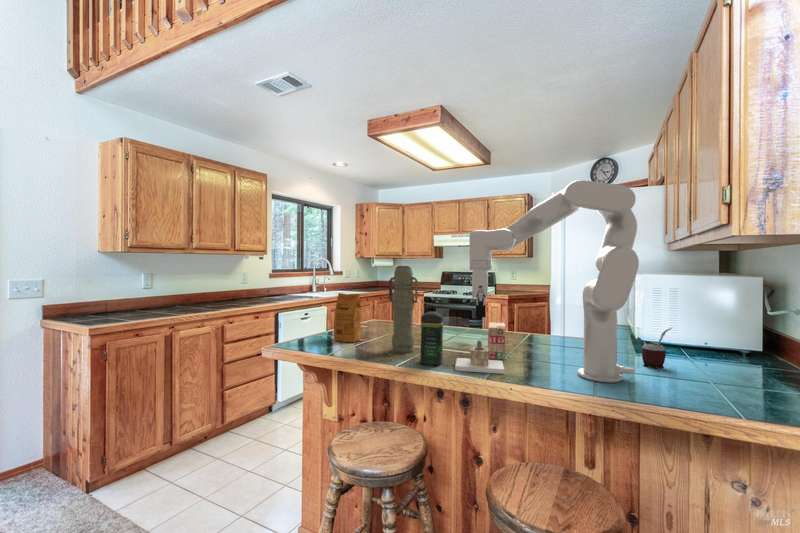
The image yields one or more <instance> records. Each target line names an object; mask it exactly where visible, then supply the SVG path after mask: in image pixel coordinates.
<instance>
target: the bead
mask: <svg viewBox="0 0 800 533" xmlns="http://www.w3.org/2000/svg"><path fill="white" fill-rule="evenodd" d="M469 356H470V358H469V359H470V365H477V366H488V360H489V359H488V347H487V346H486V347H485V346H482V350H477V346H470V355H469Z"/></svg>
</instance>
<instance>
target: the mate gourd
mask: <svg viewBox="0 0 800 533" xmlns="http://www.w3.org/2000/svg"><path fill="white" fill-rule="evenodd" d="M672 329H673V327H670V328H668V329H665V330H664V331H663V332H662V333H661V334H660V335H661V336H660V338H659V340H658V342H657V343H654V342H653V343H651V342H646V343H644V344H643V346H642V349H641V357H642V358H641V359H642V362H643V364H642V366H643V367H646V368H648V367H649V368H653V369H654V370H658V368H660V369H664V368H665V366H664V364H665V360H666V356H667V353H666V348H665V347H664V346H663V344H661V342H662V340H663V338H664V337H665V335H666V333H667V332H669V331H670V330H672Z"/></svg>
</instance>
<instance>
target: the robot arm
mask: <svg viewBox="0 0 800 533" xmlns="http://www.w3.org/2000/svg"><path fill="white" fill-rule="evenodd" d="M636 198H637V197H636V194H635V192H634V191H633V189H631V188H630V187H628V186H626V185H622V184H617V183H608V182H602V181H601V182H600V181H592V180H584V179H579V180H574V181H571V182H570V183H569V184H568V185H567V186H566V187H565V188H562V190H560V191H558V192H557V193H555V194H554V195H551V196H550V197H549V198H547V199H545V200H543V201H542V202H539V203H538V204H537V205H535V206H533V207H532V208H531V209H529V210H528V211H527V212H526V213H525V214H524V215H523V216H521V217H520V218H519V219H517V220H516V221H515V222H513V223H511V224H510V225H508V226H506V227H504V228H499V229H493V230H485V229H481V230H479V229H476V230H473V231H471V232H469V240H468V242H469V271H472V275H471V278H472V279H471V280H472V281H471V286H472V287H471V291H472V292H471V294H472V295H471V296H472V297H471V298H472V299H473V300H475V299H476V302H475V317H476V318H486V317H487V315H486V311H487V309H486V308H487V307H486V299H488V287H489V271H492V269H493V268H492V266H493V265H492V262H493V260H492V257H493V256H492V255H493V254H492V251H499V252H503V253H504V252H508V251H510V250H511V249H513V248H514V247H516V246H518V245H519V244H522V243H524V241H527V240H528V239H530V238H531V237H533V236H536V235H537V234H541V233H542V232H544V231H546V230H548V229H549V228H551V227H553V226H554V225H557V224H558V223H559V222H561V221H564V219H566V218H568V217H570V216H572V215H573V214H575V213H576V212H578V211H580V210H582V209H587V210H591V211H592V210H594V211H597V213H598V214H599V215H600V216H601V217H602V218H603V220H604V222H605V232H604V236H603V239H602V242H601V245H600V248H599V251H598V253H597V256H596V260H595V266H596V267H595V268H596V269H597V270H598V275H597V278H595V279H593V280H590V281H588V282H587V284H586V285H585V286H584V288H583V291H582V307H583V354H582V355H583V356H582V359H583V360H582V361H583V362H582V363H583V364H582V367H581V368H579V369H578V371H577V375H578V376H579V377H581V378H583V379H586V380H589V381H593V382H600V383H619V382H622V381H623V376H622V375H624V374H627V375H634V374H635V369H634V368H633V367H627V366H625V365H624V366H622V365H619V364H618V363H617V361H618V360H617V359H618V313H617V312H618V311H619V310H621V309H622V308H623V307H624V306H625V305H626V303H627V301H628V299H629V296H630V294H631V291H632V288H633V286H634V283H635V279H636V277H637V273H638V271H639V267H640V266H639V264H640V261H639V256H638V254H637V253H636V251H635V250H634V249H633V247H634V243H635V239H636V236H637V232H638V221H637V219H636V215H635V214H634V212H633V211H632V210H633V208H634V206H635V205H636Z"/></svg>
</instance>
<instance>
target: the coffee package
mask: <svg viewBox="0 0 800 533" xmlns="http://www.w3.org/2000/svg"><path fill="white" fill-rule="evenodd" d="M360 296H361V295H360V293H349V294H348V293H340V292H338V294H337V297H336V298H337V299H336V304H335V308H334V309H335V310H334V318H333V320H334V321H333V342H341V343H344V342H353V343H356V342H357V341H359V340H361V338H362V331H361V330H362V329H361V325H362V306H361V301H360Z"/></svg>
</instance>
